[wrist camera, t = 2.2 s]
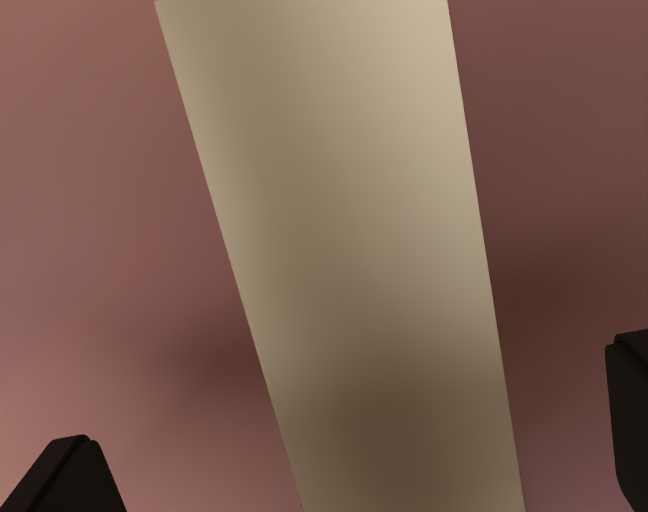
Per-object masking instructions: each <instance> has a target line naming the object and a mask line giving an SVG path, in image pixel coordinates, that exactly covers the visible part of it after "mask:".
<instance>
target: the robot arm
mask: <svg viewBox="0 0 648 512" xmlns="http://www.w3.org/2000/svg"><path fill="white" fill-rule="evenodd" d="M605 360H606V371H607V381H608V392H609V403H610V414H611V425H612V435H613V446H614V457H615V468H616V475H617V479H618V482H619V485H620V488H621V490H622V492H623V494H624V496H625V497H626V499H627V501H628V502H629V504H630V505H631V507H632V508H633V510H634V511H635V512H648V329H643V330H638V331H633V332H627V333H622V334H617V335H616V336H615V339H614V344H609V345H606V347H605ZM0 512H127V511H126V508H125V506H124V503H123V501H122V498H121V496H120V493H119V491H118V489H117V486H116V484H115V481H114V479H113V476H112V474H111V471H110V469H109V466H108V464H107V462H106V459H105V457H104V454H103V452H102V449H101V447H100V445H99V443H98V442H97V441H95V440H90V438H89V437H88V436H86V435H84V434H81V435H76V436H70V437H65V438H60V439H55V440H52V441H51V442H50V443H49V444H48V445H47V447H46V448H45V449H44V451H43V452H42V453H41V455H40V456H39V457H38V458H37V460H36V461H35V462H34V464H33V465H32V466H31V468H30V469H29V470H28V472H27V473H26V474H25V476H24V477H23V478H22V480H21V481H20V482H19V484H18V485H17V486H16V488H15V489H14V490H13V491H12V493H11V494H10V495H9V497H8V498H7V499H6V501H5V502H4V503H3V505H2V506H1V507H0Z"/></svg>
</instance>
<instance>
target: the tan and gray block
mask: <svg viewBox="0 0 648 512" xmlns="http://www.w3.org/2000/svg"><path fill="white" fill-rule="evenodd" d="M154 4H155V8H156V11H157V15H158V18H159V21H160V25H161V28H162V32H163V35H164V38H165V42H166V45H167V49H168V52H169V55H170V59H171V62H172V66H173V69H174V72H175V76H176V79H177V83H178V86H179V89H180V93H181V96H182V100H183V103H184V106H185V110H186V113H187V116H188V120H189V123H190V127H191V130H192V133H193V137H194V140H195V144H196V147H197V150H198V154H199V157H200V161H201V164H202V167H203V171H204V174H205V178H206V181H207V184H208V188H209V191H210V195H211V198H212V201H213V205H214V208H215V212H216V215H217V218H218V222H219V225H220V228H221V232H222V235H223V239H224V242H225V245H226V249H227V252H228V256H229V259H230V262H231V266H232V269H233V273H234V276H235V279H236V283H237V286H238V290H239V293H240V296H241V300H242V303H243V307H244V310H245V313H246V317H247V320H248V324H249V327H250V330H251V334H252V337H253V340H254V344H255V347H256V351H257V354H258V357H259V361H260V364H261V368H262V371H263V374H264V378H265V381H266V385H267V388H268V391H269V395H270V398H271V402H272V405H273V408H274V412H275V415H276V419H277V422H278V425H279V429H280V432H281V436H282V439H283V442H284V446H285V449H286V452H287V456H288V459H289V463H290V466H291V469H292V473H293V476H294V480H295V483H296V486H297V490H298V493H299V497H300V500H301V503H302V507H303V510H304V512H525V506H524V500H523V493H522V487H521V480H520V473H519V467H518V460H517V454H516V447H515V441H514V434H513V428H512V421H511V415H510V408H509V402H508V395H507V389H506V382H505V375H504V369H503V362H502V356H501V349H500V343H499V336H498V330H497V323H496V317H495V310H494V304H493V297H492V291H491V284H490V277H489V271H488V264H487V258H486V251H485V245H484V238H483V232H482V225H481V219H480V212H479V206H478V199H477V193H476V186H475V179H474V173H473V166H472V160H471V153H470V147H469V140H468V134H467V127H466V121H465V114H464V108H463V101H462V95H461V88H460V81H459V75H458V68H457V62H456V55H455V49H454V42H453V36H452V29H451V23H450V16H449V10H448V3H447V0H157V1H154Z"/></svg>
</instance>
